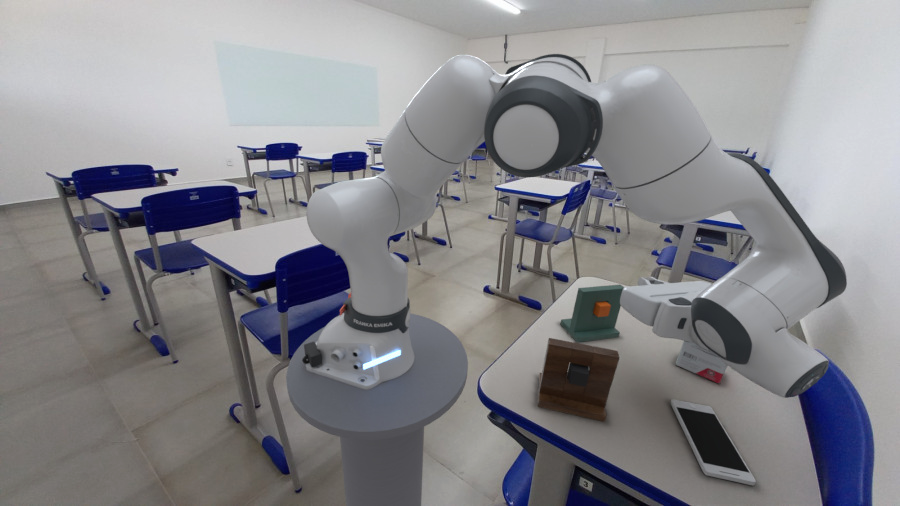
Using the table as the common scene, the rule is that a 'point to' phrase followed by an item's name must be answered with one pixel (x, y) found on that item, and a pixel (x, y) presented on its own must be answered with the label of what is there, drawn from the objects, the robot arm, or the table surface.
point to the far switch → (601, 309)
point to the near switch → (578, 374)
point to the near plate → (569, 396)
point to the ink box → (701, 361)
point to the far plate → (586, 322)
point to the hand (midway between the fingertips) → (643, 280)
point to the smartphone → (711, 443)
